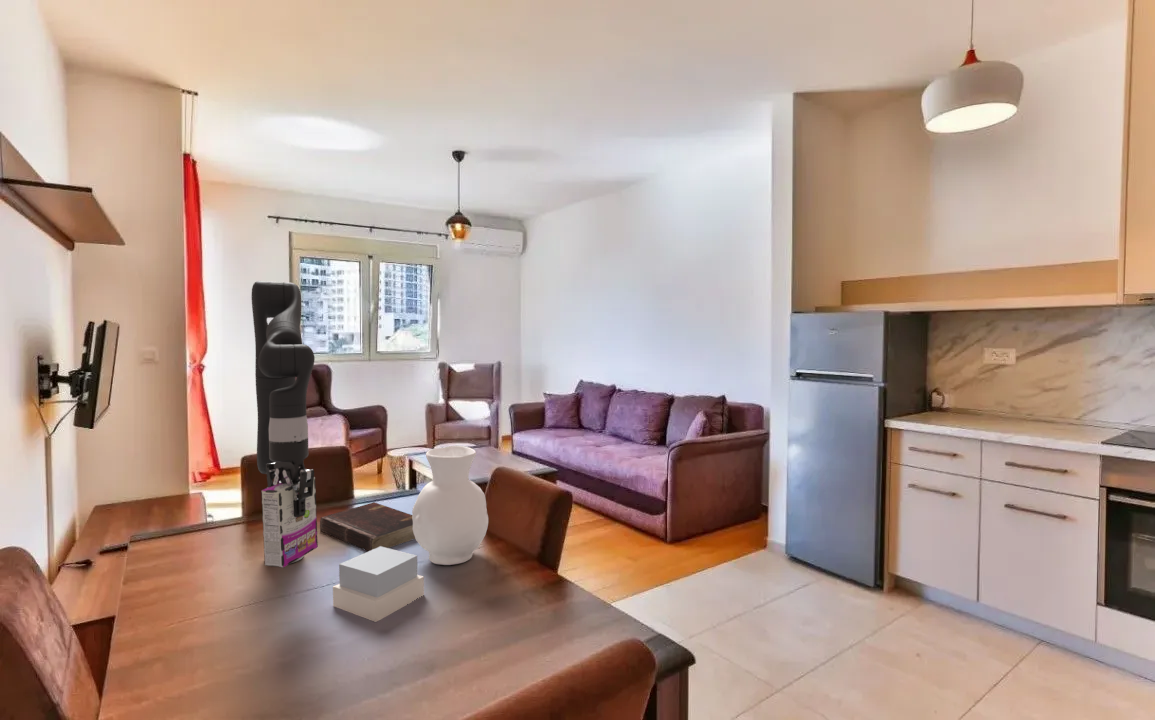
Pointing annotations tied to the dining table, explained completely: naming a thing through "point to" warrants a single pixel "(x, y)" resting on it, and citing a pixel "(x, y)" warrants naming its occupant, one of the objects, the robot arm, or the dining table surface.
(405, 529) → the hardback book
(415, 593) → the lower block
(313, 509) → the candy bar box
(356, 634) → the dining table surface
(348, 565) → the top block
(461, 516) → the vase
